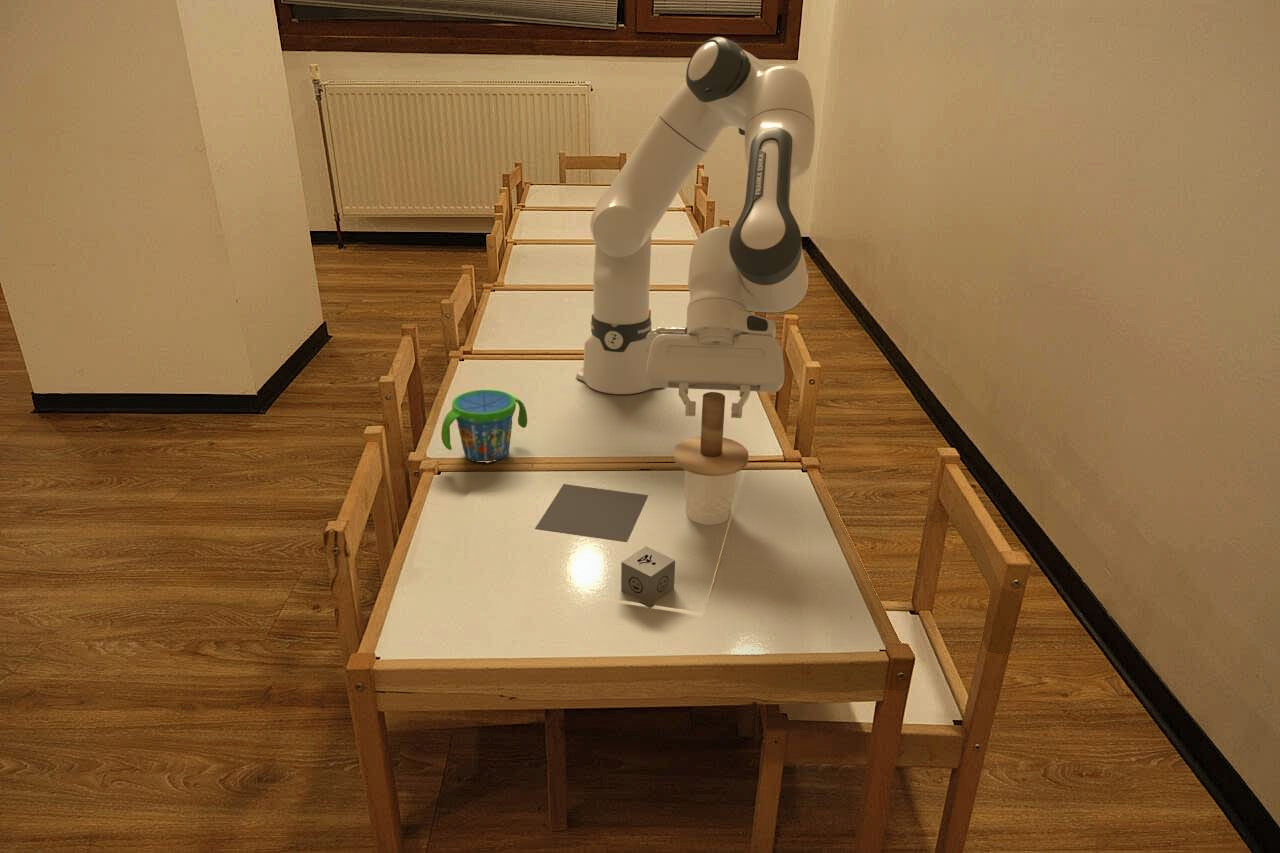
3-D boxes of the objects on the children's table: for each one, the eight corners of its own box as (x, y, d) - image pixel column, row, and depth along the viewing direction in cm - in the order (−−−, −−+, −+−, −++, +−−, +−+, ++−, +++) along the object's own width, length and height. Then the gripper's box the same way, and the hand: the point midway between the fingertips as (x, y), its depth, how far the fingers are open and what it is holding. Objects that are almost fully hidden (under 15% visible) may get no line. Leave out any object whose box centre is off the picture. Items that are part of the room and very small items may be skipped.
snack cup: (514, 433, 162) (512, 381, 158) (541, 456, 154) (540, 402, 150) (432, 454, 154) (427, 399, 150) (456, 479, 146) (452, 422, 142)
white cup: (705, 497, 143) (708, 440, 138) (743, 516, 138) (748, 458, 133) (671, 514, 138) (673, 456, 133) (709, 534, 133) (713, 475, 128)
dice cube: (645, 577, 123) (645, 546, 121) (673, 591, 120) (675, 560, 118) (621, 593, 119) (621, 561, 117) (650, 608, 116) (651, 576, 114)
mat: (563, 486, 145) (563, 483, 145) (648, 497, 142) (648, 495, 142) (535, 530, 133) (534, 528, 132) (626, 544, 130) (626, 541, 130)
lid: (681, 438, 139) (683, 378, 135) (752, 446, 137) (756, 385, 132) (666, 470, 129) (668, 407, 125) (742, 480, 127) (747, 415, 123)
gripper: (646, 317, 132) (641, 405, 127) (786, 322, 131) (786, 411, 126) (646, 335, 138) (642, 420, 133) (780, 340, 137) (780, 426, 132)
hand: (713, 415), depth 130 cm, fingers open, 5 cm apart
